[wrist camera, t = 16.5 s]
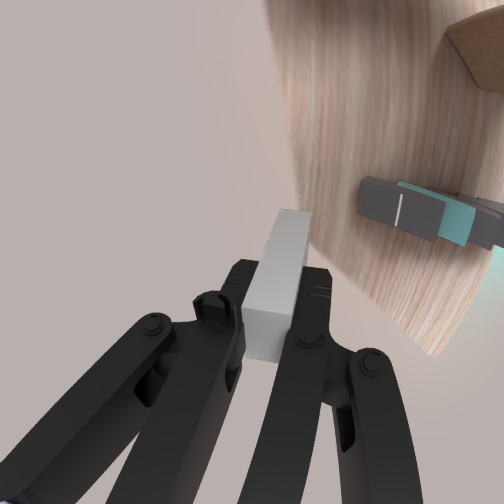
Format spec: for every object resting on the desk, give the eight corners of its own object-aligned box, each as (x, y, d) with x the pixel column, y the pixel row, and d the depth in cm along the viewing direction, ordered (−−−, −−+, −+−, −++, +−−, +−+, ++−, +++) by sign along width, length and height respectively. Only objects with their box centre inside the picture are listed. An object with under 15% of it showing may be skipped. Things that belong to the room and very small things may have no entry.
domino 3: (427, 191, 32) (501, 219, 25) (430, 186, 34) (500, 213, 27) (421, 222, 35) (490, 251, 28) (424, 217, 37) (490, 243, 29)
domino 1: (361, 180, 35) (444, 207, 28) (367, 176, 36) (446, 202, 29) (356, 213, 37) (434, 242, 30) (363, 207, 39) (437, 235, 32)
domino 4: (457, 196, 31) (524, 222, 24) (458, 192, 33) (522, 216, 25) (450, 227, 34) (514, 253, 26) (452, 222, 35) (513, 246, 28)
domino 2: (396, 184, 33) (475, 213, 26) (400, 180, 35) (475, 208, 28) (390, 217, 36) (464, 247, 29) (395, 211, 38) (465, 239, 31)
